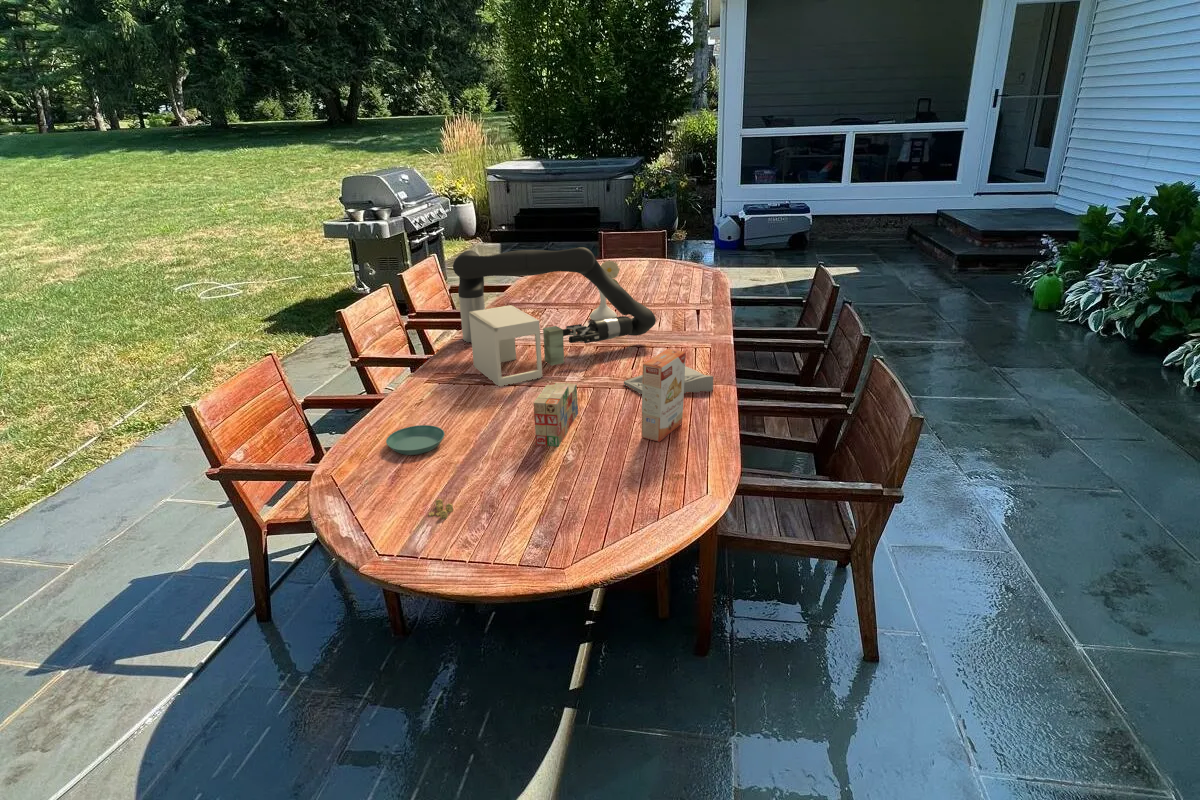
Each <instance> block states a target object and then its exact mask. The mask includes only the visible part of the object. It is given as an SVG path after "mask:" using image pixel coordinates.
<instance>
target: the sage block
mask: <svg viewBox="0 0 1200 800" xmlns="http://www.w3.org/2000/svg"><path fill="white" fill-rule="evenodd" d="M563 329H564V328H561V327H559V326H558V325H553V326H548V327H543V328H542V333H543V350H544V351H543V353H544V363H546V362H547V364H548V365H549V364H550V366H556V365H560V364H565V352H564V351H565V349H564V336H563Z"/></svg>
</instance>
